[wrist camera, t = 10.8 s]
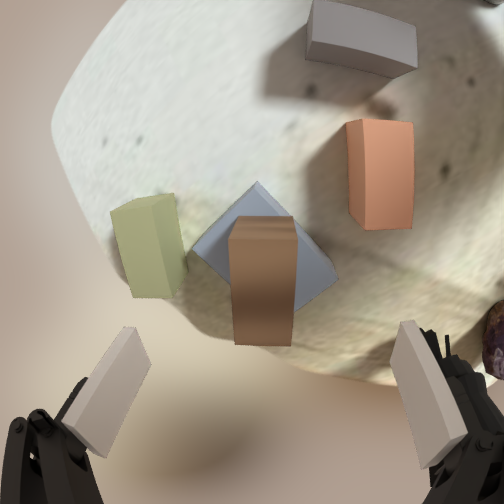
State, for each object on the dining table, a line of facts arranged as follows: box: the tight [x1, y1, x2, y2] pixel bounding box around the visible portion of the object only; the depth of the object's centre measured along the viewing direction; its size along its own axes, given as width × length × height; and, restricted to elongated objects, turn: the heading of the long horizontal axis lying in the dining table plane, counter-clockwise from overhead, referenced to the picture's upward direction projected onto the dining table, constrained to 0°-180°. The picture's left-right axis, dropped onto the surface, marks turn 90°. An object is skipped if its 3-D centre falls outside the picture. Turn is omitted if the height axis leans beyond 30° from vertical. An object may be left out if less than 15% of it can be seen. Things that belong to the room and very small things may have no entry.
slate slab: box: [192, 181, 338, 312], centre depth 24 cm, size 10×7×4 cm
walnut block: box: [228, 216, 298, 346], centre depth 20 cm, size 8×4×5 cm, turn 1°
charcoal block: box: [305, 0, 418, 79], centre depth 15 cm, size 8×4×5 cm, turn 85°
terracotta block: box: [346, 119, 414, 230], centre depth 19 cm, size 8×4×5 cm, turn 5°
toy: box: [419, 328, 504, 487], centre depth 19 cm, size 8×9×20 cm
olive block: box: [110, 193, 188, 298], centre depth 23 cm, size 8×4×5 cm, turn 5°
